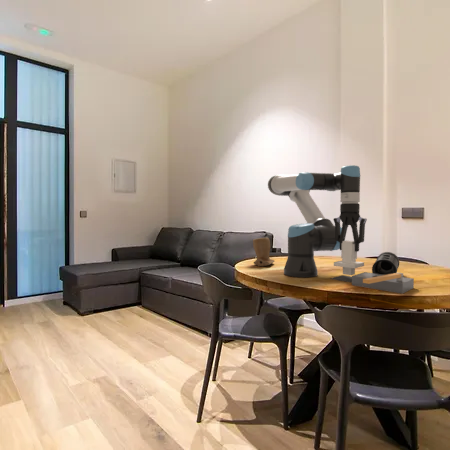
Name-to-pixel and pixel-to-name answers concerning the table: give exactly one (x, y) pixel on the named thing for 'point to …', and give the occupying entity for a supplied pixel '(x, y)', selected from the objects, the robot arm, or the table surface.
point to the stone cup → (262, 251)
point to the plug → (348, 259)
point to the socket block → (384, 283)
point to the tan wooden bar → (382, 278)
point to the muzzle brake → (386, 264)
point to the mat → (343, 278)
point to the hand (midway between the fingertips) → (349, 258)
